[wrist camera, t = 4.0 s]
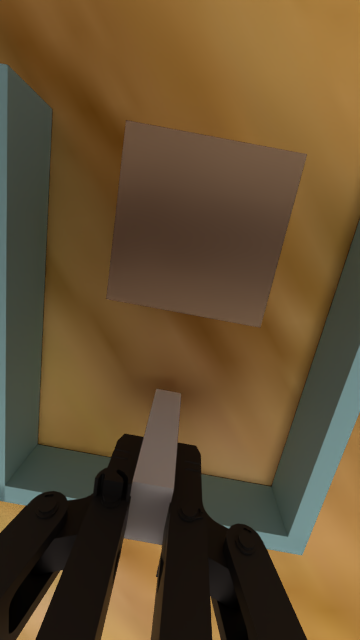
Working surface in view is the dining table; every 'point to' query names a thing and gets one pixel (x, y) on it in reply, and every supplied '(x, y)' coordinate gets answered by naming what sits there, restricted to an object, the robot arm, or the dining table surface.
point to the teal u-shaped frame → (81, 468)
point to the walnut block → (200, 222)
